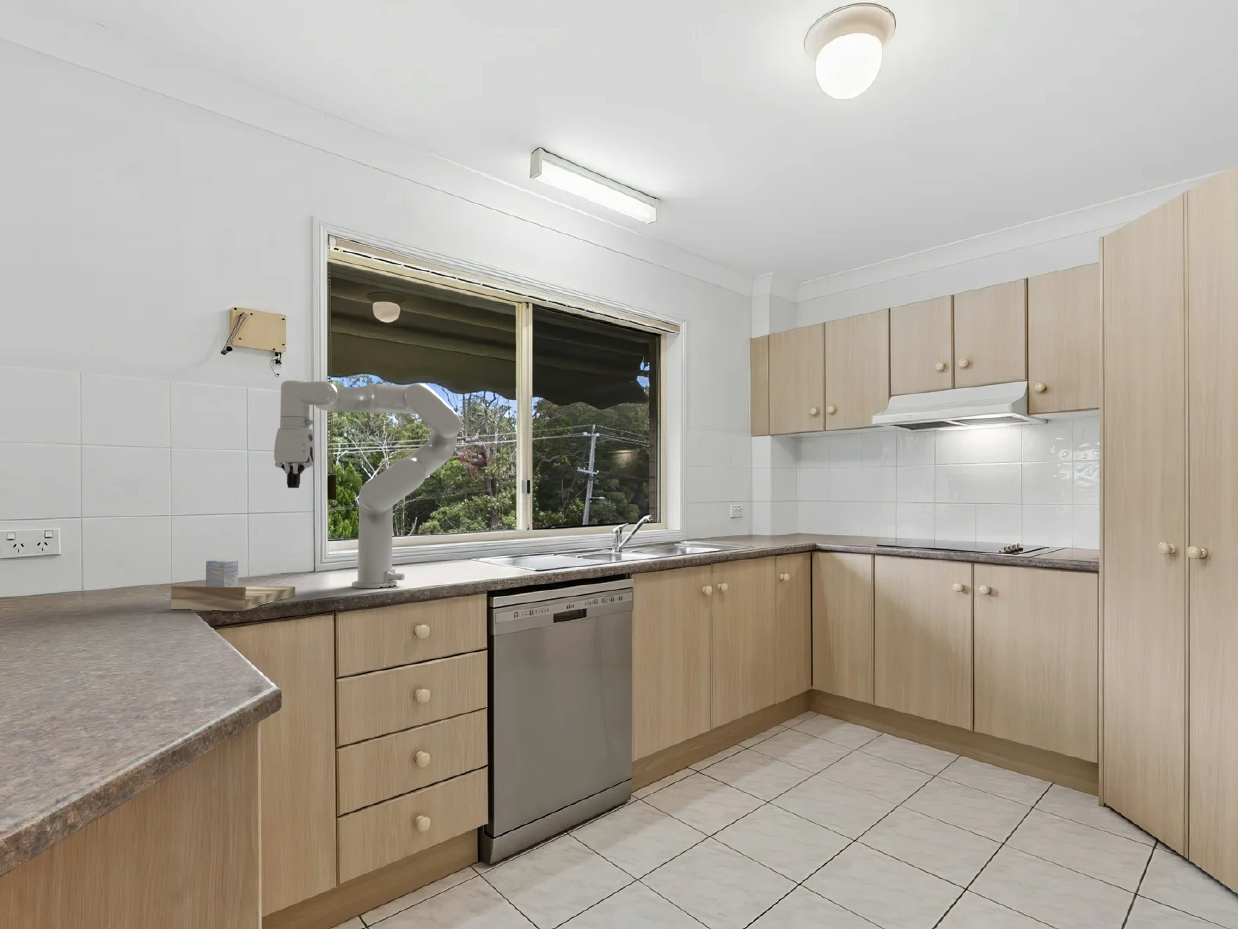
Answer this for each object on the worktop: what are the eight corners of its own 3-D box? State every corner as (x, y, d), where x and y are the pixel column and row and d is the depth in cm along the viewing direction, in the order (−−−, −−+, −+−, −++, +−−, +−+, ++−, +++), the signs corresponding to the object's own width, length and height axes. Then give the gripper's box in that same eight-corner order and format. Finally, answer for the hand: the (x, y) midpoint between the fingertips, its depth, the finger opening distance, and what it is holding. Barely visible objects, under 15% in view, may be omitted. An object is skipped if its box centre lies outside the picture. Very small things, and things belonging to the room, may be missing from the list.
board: (231, 594, 180) (231, 574, 180) (295, 596, 179) (295, 575, 179) (170, 609, 158) (171, 586, 158) (242, 611, 157) (243, 587, 157)
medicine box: (238, 591, 187) (239, 560, 187) (223, 593, 183) (224, 561, 183) (220, 589, 190) (221, 558, 191) (204, 591, 186) (205, 560, 187)
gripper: (326, 425, 194) (325, 488, 193) (277, 425, 195) (276, 487, 195) (312, 422, 187) (311, 488, 186) (261, 422, 188) (260, 487, 187)
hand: (293, 487), depth 190 cm, fingers closed
